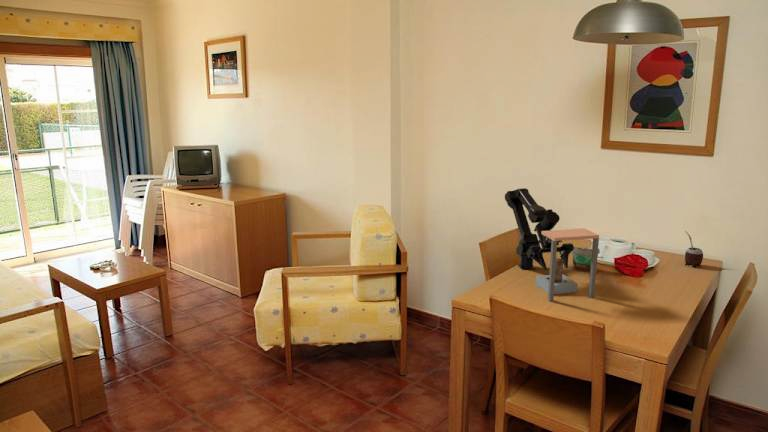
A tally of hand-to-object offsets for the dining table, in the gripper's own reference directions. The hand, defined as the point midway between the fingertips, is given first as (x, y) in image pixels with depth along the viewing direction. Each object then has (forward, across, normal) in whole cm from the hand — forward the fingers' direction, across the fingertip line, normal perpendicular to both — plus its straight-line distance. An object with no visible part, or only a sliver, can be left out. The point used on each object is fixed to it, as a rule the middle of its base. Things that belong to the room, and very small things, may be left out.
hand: (556, 268), depth 215 cm
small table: (+9, 0, +3) cm, 9 cm away
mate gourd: (-3, +74, +15) cm, 75 cm away
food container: (-7, +23, +19) cm, 31 cm away
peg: (+6, 0, +5) cm, 8 cm away
